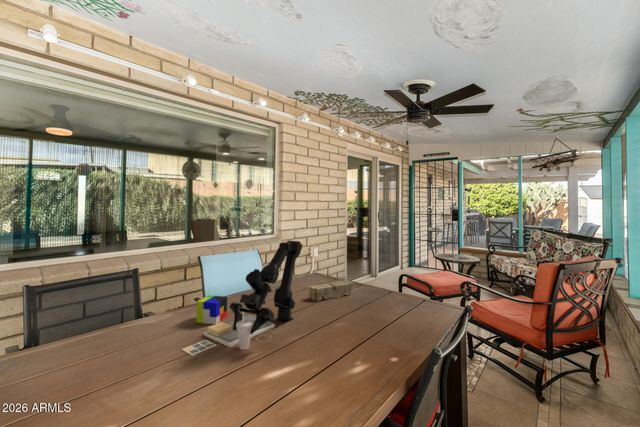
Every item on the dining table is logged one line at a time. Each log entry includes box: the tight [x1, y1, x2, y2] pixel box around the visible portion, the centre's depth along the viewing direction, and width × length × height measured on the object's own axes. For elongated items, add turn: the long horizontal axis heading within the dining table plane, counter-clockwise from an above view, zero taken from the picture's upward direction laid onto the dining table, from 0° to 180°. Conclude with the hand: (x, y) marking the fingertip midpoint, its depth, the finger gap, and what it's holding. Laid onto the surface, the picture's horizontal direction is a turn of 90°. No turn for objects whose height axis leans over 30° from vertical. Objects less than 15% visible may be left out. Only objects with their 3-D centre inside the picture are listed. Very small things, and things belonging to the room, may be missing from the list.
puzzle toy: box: [196, 294, 228, 325], centre depth 142 cm, size 10×10×10 cm
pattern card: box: [181, 339, 217, 357], centre depth 114 cm, size 10×7×1 cm
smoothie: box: [236, 312, 253, 351], centre depth 115 cm, size 6×6×14 cm
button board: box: [203, 314, 276, 348], centre depth 130 cm, size 25×17×2 cm
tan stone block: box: [308, 280, 354, 302], centre depth 184 cm, size 8×8×29 cm
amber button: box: [206, 321, 232, 337], centre depth 126 cm, size 7×7×2 cm
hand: (242, 331), depth 114 cm, fingers open, 8 cm apart
